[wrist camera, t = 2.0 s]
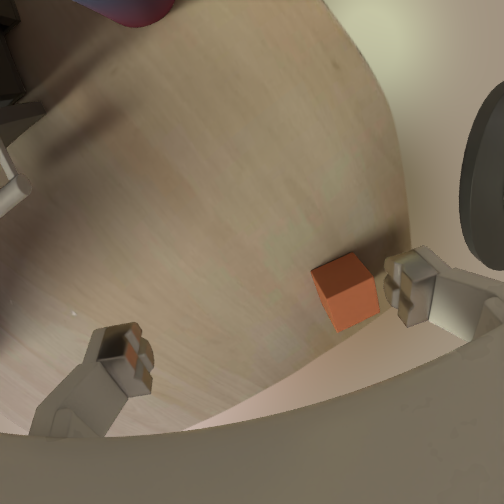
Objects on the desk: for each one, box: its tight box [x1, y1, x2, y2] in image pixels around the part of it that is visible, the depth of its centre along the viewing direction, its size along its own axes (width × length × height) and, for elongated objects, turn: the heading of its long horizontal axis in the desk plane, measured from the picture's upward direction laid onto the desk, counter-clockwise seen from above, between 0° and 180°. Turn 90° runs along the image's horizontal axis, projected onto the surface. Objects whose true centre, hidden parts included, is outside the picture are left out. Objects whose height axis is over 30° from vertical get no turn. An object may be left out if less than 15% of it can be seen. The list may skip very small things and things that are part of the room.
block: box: [311, 252, 380, 332], centre depth 28 cm, size 4×4×4 cm
